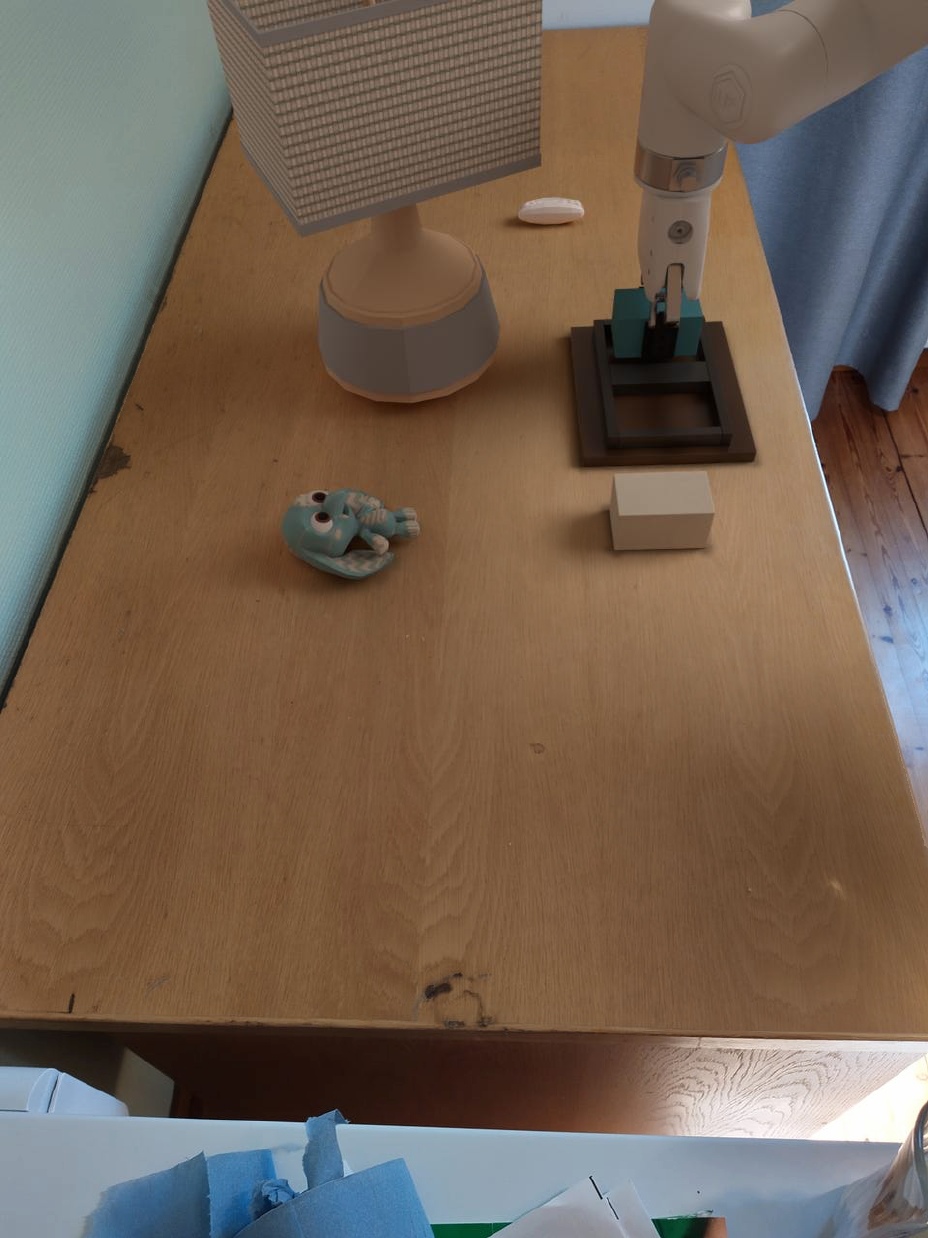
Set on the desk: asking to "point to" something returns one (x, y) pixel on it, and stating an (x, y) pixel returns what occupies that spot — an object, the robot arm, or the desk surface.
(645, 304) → the teal pad
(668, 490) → the cream pad
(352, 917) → the desk surface
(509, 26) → the desk lamp
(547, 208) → the white soap bar
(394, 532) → the stuffed animal
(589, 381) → the back plate
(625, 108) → the desk surface
